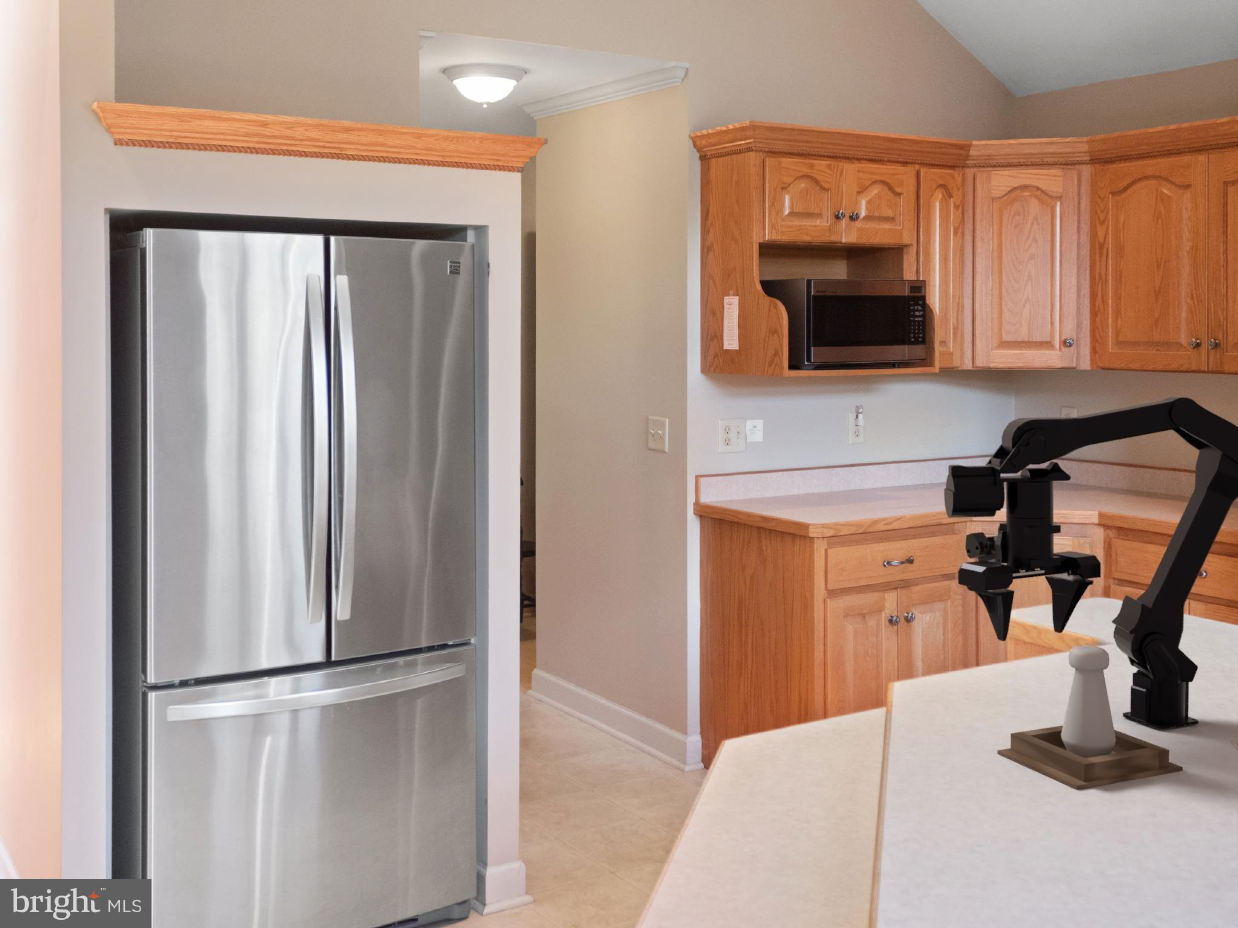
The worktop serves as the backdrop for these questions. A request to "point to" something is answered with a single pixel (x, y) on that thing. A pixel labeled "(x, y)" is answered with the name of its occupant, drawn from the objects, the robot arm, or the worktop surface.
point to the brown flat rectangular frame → (1087, 759)
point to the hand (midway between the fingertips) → (1030, 636)
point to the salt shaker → (1088, 705)
